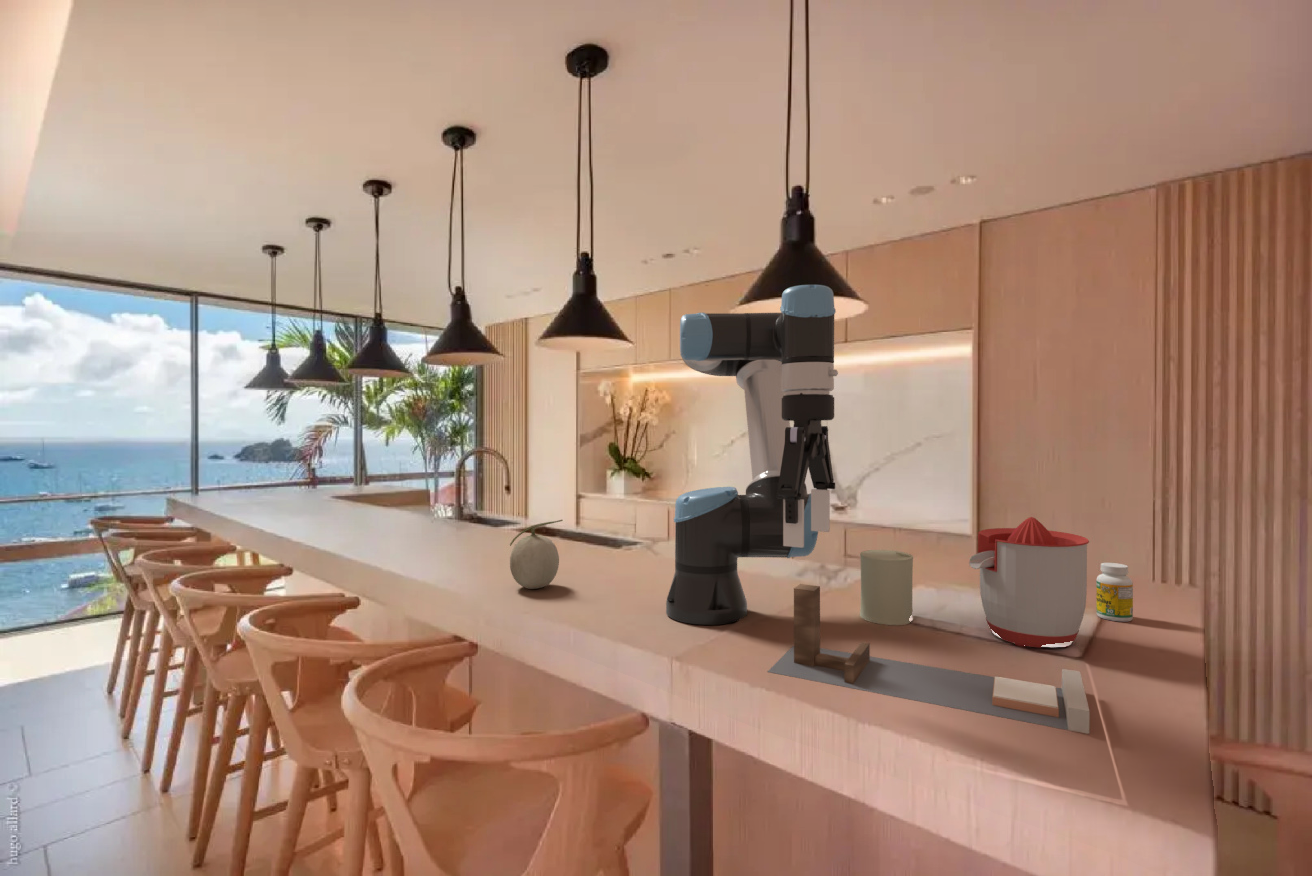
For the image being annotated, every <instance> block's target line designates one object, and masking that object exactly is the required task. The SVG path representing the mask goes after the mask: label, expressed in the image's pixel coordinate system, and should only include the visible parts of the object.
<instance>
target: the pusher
mask: <svg viewBox="0 0 1312 876" xmlns="http://www.w3.org/2000/svg"><path fill="white" fill-rule="evenodd" d="M793 645H794V663H798V664H803V665H808V666H821V667H826V668H831V669H837V670H842V671H844V682H846V683H851V684H854V682H855V681H856V679H857V678H858V677H859V675H860V674H861V672H862V671H863V669H864V668H865V666H866V665H867V663H868V662H869V660H870V656H871V655H870V653H871V652H870V651H871V649H870V647H871V646H870V645H871V644H870V642H864V641H861V642H860V643H859V644H858V646H857V647H856V648H855V649H854V651H853V652H852V653H853V654H852V655H851V656H850V657H849V658H845V657H839V656H834V655H828V654H822V653H820V648H821V586H819V585H811V584H805V583H804V584H803V583H800V584H798V585H797V586H795V587H794V588H793Z"/></svg>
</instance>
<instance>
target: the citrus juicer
mask: <svg viewBox="0 0 1312 876" xmlns="http://www.w3.org/2000/svg"><path fill="white" fill-rule="evenodd" d="M1089 543H1090V540H1089V539H1088V538H1087V537H1084V536H1082V535H1079V534H1074V533H1068V532H1063V531H1056V530H1049V529H1047V528H1046V527H1045V525H1043V523H1041V522H1040V521H1039V520H1038V519H1036V518H1035V517H1033V516H1030V517H1028V518H1025V520H1023V521H1022V522H1021V523H1019V525H1018V526H1017V527H1002V528H1001V527H998V528H986V529H982V530H980V531H978V534H977V553H976V554H973V555H971V556H970V557H969V561H968V566H969V567H971V568H972V569H974V570H976V569H977V570H979V588H980V589H979V590H980V600H981V603H982V608H983V612H984V614H985V615H984V616H985V621H986V623H987V626H988V625H989V626H988V628H989V627H990V628H989V630H990V629H992V630H993V631H994V632H995V633H997V634H998V635H999V636H1000V637H1001V638H1002V639H1001V640H1002V641H1003V640H1004V641H1005V642H1009V643H1011V644H1014V643H1015V644H1014V645H1015V646H1018V647H1019V648H1020V647H1021V648H1022V647H1023V648H1027V647H1026V646H1029V647H1031V648H1039V649H1040V648H1041V646H1042V645H1046V644H1055V643H1064V642H1070V641H1074V642H1075V640H1076V638H1077V636H1078V634H1079V632H1080V628H1081V624H1082V622H1083V619H1084V616H1085V615H1084V614H1085V610H1086V605H1087V596H1088V595H1087V592H1088V591H1087V587H1088V583H1087V582H1088V581H1087V580H1088V579H1087V578H1088V577H1087V576H1088V572H1087V571H1088V544H1089ZM1024 645H1025V646H1024Z"/></svg>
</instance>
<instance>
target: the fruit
mask: <svg viewBox="0 0 1312 876" xmlns="http://www.w3.org/2000/svg"><path fill="white" fill-rule="evenodd" d="M558 522H563V519H559V520H554V521H548V522H540V523H538V524H534V525H531V526H529V527H527V528H525V529H523V530H522V531H520V532H519V533H518V534H517V535H515V536H514V537H513V539H512V540H511V542H510V543H509V546H510V547H511V546H512V545H513V543H514V542H515V541H516V540H517V539H518V538H519V537H520V536H521V535H523V534H524V533H526V532H527V531H529V530H530V533H531V534H529V535H527V536H524V537H522V538H521V539H519V540H518V541H517V542H516V544H514V546H513V548H512V550H511V551H510V552H511V553H510V557H509V568H510V569H509V570H510V573H511V575H512V578H513V579H514V581H515V582H516V583H517V584H518V585H520V586H521V587H524V588H526V589H528V590H530V589H531V590H536V589H542V588H545V587H546V586H548V585H550V584H551V583H552V582H553V581H554V578H555V577H556V576H557V573H558V570H559V566H560V556H559V555H560V554H559V552H558V548H557V546H556V545H555V543H554V542H553V540H552V539H550V538H549V537H547V536H544V535H542V534H536V529H537V528H540V527H542V526H546V525H550V524H554V523H558Z"/></svg>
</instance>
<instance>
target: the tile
mask: <svg viewBox="0 0 1312 876" xmlns="http://www.w3.org/2000/svg"><path fill="white" fill-rule="evenodd" d="M993 677H994V687H993V696H992V705H996V706H1001V707H1006V708H1012V709H1017V710H1022V711H1028V712H1033V713H1038V714H1044V715H1049V716H1054V717H1059V707H1058V699H1057V692H1056V688H1055V687H1056V686H1055V685H1050V684H1043V683H1038V682H1032V681H1028V680H1027V681H1025V680H1020V679H1015V678H1008V677H1000V676H996V675H995V676H993Z"/></svg>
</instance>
